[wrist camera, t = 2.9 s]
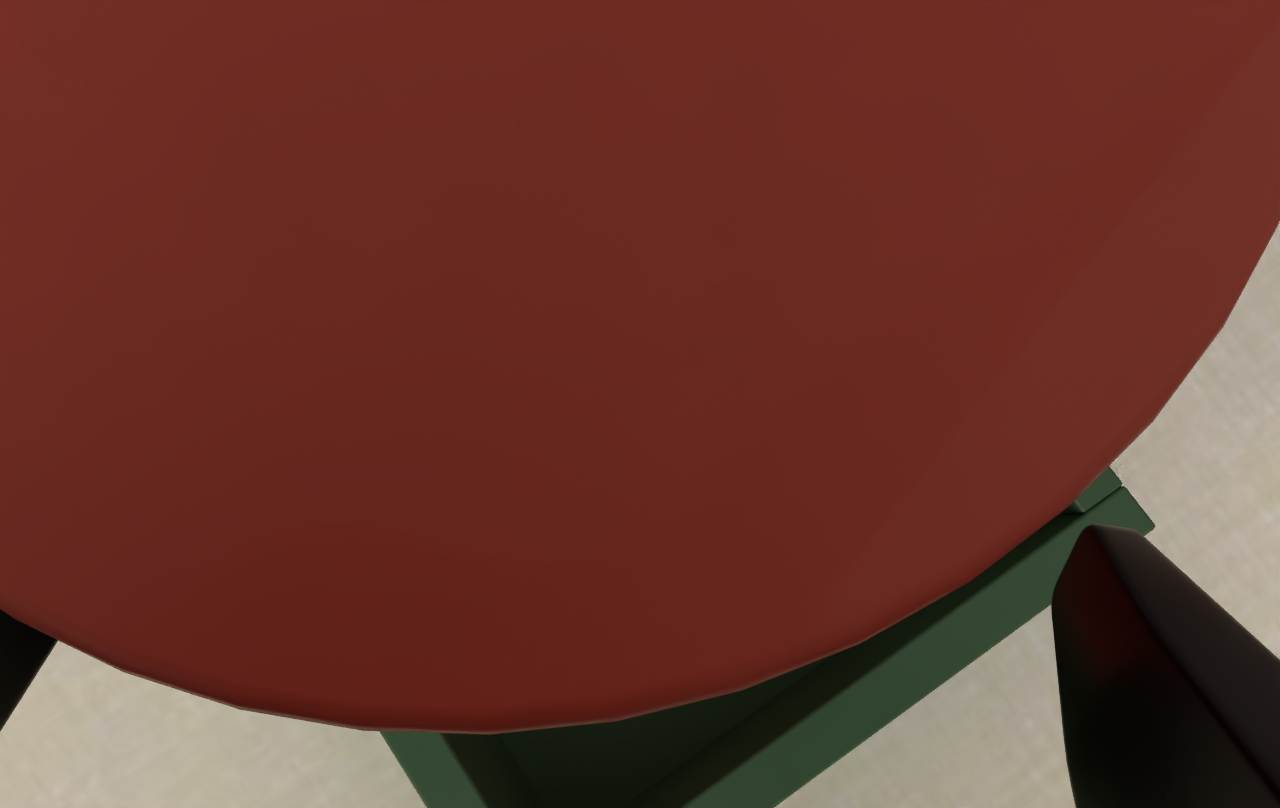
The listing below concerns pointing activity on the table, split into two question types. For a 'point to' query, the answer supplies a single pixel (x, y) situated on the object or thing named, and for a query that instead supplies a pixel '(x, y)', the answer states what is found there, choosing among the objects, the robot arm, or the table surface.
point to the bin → (762, 704)
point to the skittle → (585, 326)
